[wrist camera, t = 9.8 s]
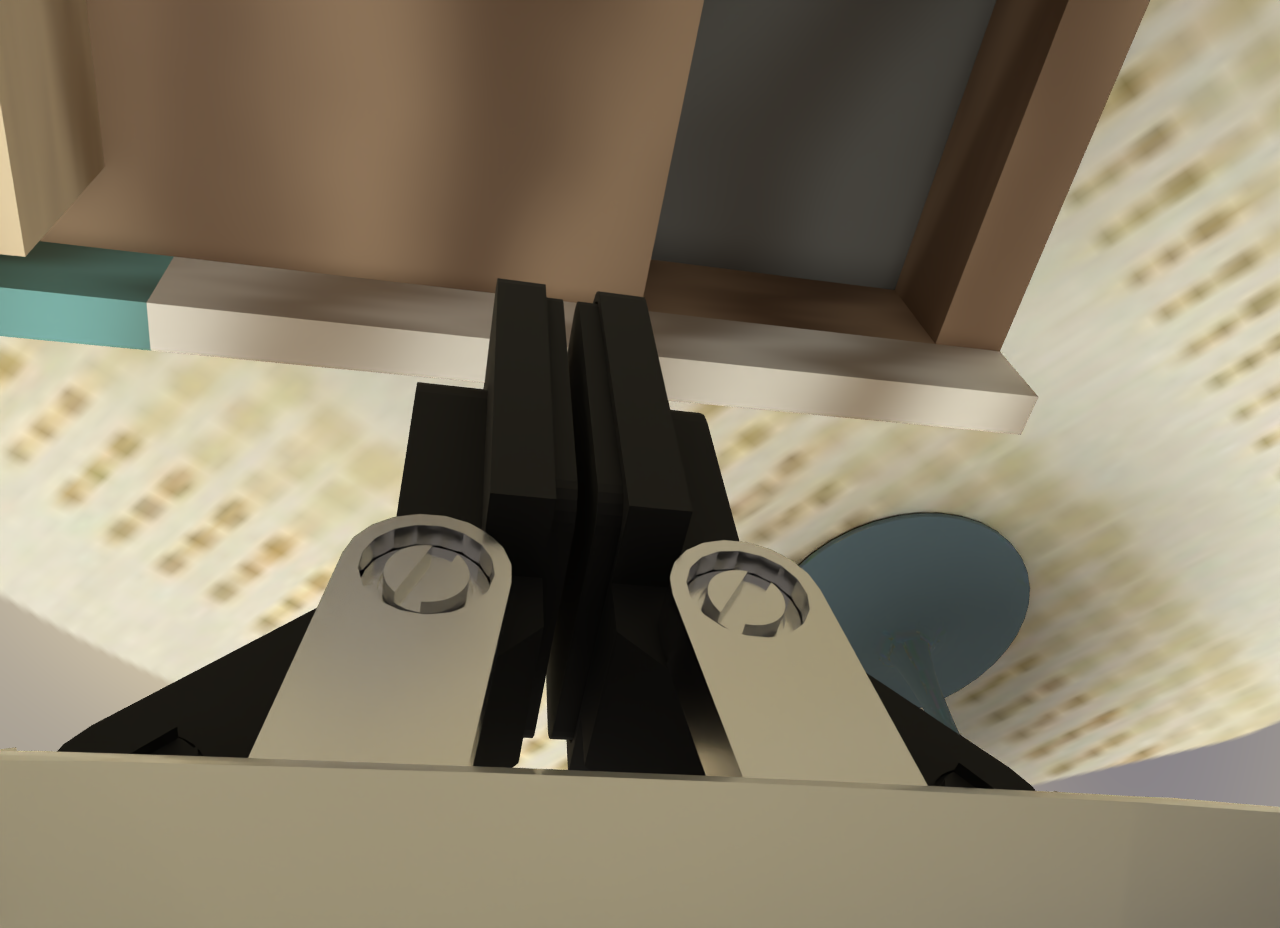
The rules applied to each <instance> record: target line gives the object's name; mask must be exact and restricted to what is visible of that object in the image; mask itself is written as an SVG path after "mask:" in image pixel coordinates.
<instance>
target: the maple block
mask: <svg viewBox="0 0 1280 928" xmlns="http://www.w3.org/2000/svg"><path fill="white" fill-rule="evenodd" d="M103 168H104V158H103V149H102V140H101V131H100V122H99V113H98V104H97V95H96V86H95V77H94V68H93V59H92V50H91V41H90V32H89V23H88V14H87V5H86V0H0V254H3V255H12V256H22V257H26V255H27V254H28V253H29V252H30V251H31V250H32V249H33V248H34V246H35V245H36V244H37V243H38V242H39V241H40V240H41V239H42V237H43V236H44V235H45V234H46V233H47V232H48V231H49V229H50V228H51V227H52V226H53V225H54V224H55V223H56V222H57V220H58V219H59V218H60V217H61V216H62V215H63V214H64V212H65V211H66V210H67V209H68V208H69V207H70V206H71V205H72V203H73V202H74V201H75V200H76V199H77V198H78V197H79V196H80V194H81V193H82V192H83V191H84V190H85V189H86V188H87V186H88V185H89V184H90V183H91V182H92V181H93V180H94V179H95V177H96V176H97V175H98V174H99V173H100V172H101V171H102V170H103Z"/></svg>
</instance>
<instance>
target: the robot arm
mask: <svg viewBox="0 0 1280 928" xmlns="http://www.w3.org/2000/svg"><path fill="white" fill-rule="evenodd" d="M545 678H546V683H547V718H548V735H549V738H550V739H565V740H567V759H568V770H554V769H529V768H512V767H514V766H515V765H516V764H518V762H519V757H520V752H521V746H522V741H523V738H533V737H534V733H535V729H536V724H537V719H538V714H539V708H540V703H541V698H542V693H543V688H544V683H545ZM0 928H1280V807H1272V806H1260V805H1248V804H1236V803H1225V802H1213V801H1201V800H1190V799H1179V798H1158V797H1135V796H1117V795H1101V794H1083V793H1065V792H1057V791H1054V792H1044V791H1035V789H1034V788H1033V787H1032V786H1031V785H1030V784H1029V783H1027V782H1026V781H1025V780H1024V779H1023V778H1021V777H1020V776H1019V775H1018V774H1016V773H1015V772H1014V771H1013V770H1011V769H1010V768H1009V767H1007V766H1006V765H1004V764H1003V763H1001V762H1000V761H998V760H997V759H995V758H994V757H992V756H991V755H989V754H988V753H986V752H985V751H983V750H982V749H980V748H979V747H977V746H976V745H974V744H973V743H971V742H970V741H968V740H967V739H965V738H964V737H962V736H961V735H959V734H958V733H956V732H955V731H953V730H952V729H950V728H949V727H947V726H946V725H944V724H943V723H941V722H940V721H938V720H937V719H935V718H934V717H932V716H931V715H929V714H928V713H926V712H925V711H923V710H922V709H920V708H919V707H917V706H916V705H914V704H913V703H911V702H910V701H908V700H907V699H905V698H904V697H902V696H901V695H899V694H898V693H896V692H895V691H893V690H892V689H890V688H889V687H887V686H886V685H884V684H883V683H881V682H880V681H878V680H877V679H875V678H874V677H872V676H871V675H869V674H868V673H866V672H865V670H864V668H863V667H862V665H861V663H860V661H859V659H858V658H857V656H856V654H855V652H854V650H853V648H852V647H851V645H850V643H849V641H848V639H847V637H846V636H845V634H844V632H843V630H842V628H841V627H840V625H839V623H838V621H837V619H836V617H835V616H834V614H833V612H832V610H831V608H830V606H829V605H828V603H827V601H826V599H825V597H824V596H823V594H822V592H821V590H820V589H819V587H818V586H817V585H816V583H815V582H814V581H813V579H812V578H811V577H810V576H809V574H808V573H807V572H805V571H804V570H803V569H802V568H800V567H799V566H798V565H797V564H795V563H794V562H793V561H792V560H790V559H788V558H786V557H785V556H783V555H781V554H779V553H777V552H775V551H773V550H771V549H768V548H765V547H761V546H758V545H755V544H751V543H748V542H739V538H738V535H737V531H736V527H735V524H734V520H733V516H732V512H731V509H730V505H729V501H728V498H727V494H726V490H725V487H724V483H723V479H722V475H721V472H720V468H719V464H718V461H717V457H716V453H715V450H714V446H713V442H712V438H711V435H710V431H709V427H708V424H707V421H706V419H705V416H704V415H703V414H701V413H694V412H684V411H675V410H670V407H669V402H668V398H667V393H666V388H665V384H664V379H663V375H662V370H661V366H660V361H659V357H658V352H657V348H656V343H655V339H654V334H653V330H652V325H651V321H650V316H649V312H648V307H647V303H646V299H645V297H639V296H631V295H623V294H616V293H608V292H600V291H597V292H596V295H595V298H594V301H593V303H587V302H579V301H577V304H576V307H575V311H574V316H573V322H572V328H571V334H570V340H569V346H568V352H567V340H566V327H565V314H564V302H563V299H555V298H548V297H547V296H546V284H539V283H531V282H523V281H516V280H508V279H500V278H497V283H496V290H495V298H494V307H493V315H492V324H491V332H490V340H489V349H488V357H487V366H486V374H485V382H484V389H475V388H466V387H456V386H447V385H438V384H429V383H420V382H418V383H417V387H416V393H415V400H414V406H413V413H412V419H411V426H410V432H409V439H408V445H407V452H406V458H405V465H404V471H403V478H402V484H401V491H400V497H399V504H398V510H397V517H393V518H390V519H387V520H384V521H381V522H378V523H375V524H372V525H371V526H369V527H368V528H366V529H365V530H363V531H362V532H360V533H359V534H357V535H356V536H354V537H353V539H352V540H351V541H350V543H349V544H348V546H347V547H346V548H345V550H344V551H343V552H342V554H341V557H340V559H339V561H338V563H337V565H336V568H335V570H334V572H333V574H332V576H331V578H330V581H329V583H328V585H327V587H326V589H325V591H324V594H323V596H322V598H321V600H320V602H319V605H318V607H317V608H316V609H314V610H312V611H310V612H308V613H306V614H304V615H302V616H300V617H298V618H296V619H295V620H293V621H291V622H289V623H287V624H285V625H283V626H281V627H279V628H277V629H275V630H273V631H272V632H270V633H268V634H266V635H264V636H262V637H260V638H258V639H256V640H254V641H252V642H250V643H249V644H247V645H245V646H243V647H241V648H239V649H237V650H235V651H233V652H231V653H229V654H228V655H226V656H224V657H222V658H220V659H218V660H216V661H214V662H212V663H210V664H208V665H206V666H205V667H203V668H201V669H199V670H197V671H195V672H193V673H191V674H189V675H187V676H185V677H183V678H182V679H180V680H178V681H176V682H174V683H172V684H170V685H168V686H166V687H164V688H162V689H161V690H159V691H157V692H155V693H153V694H151V695H149V696H147V697H145V698H143V699H141V700H140V701H138V702H136V703H134V704H132V705H130V706H128V707H126V708H124V709H122V710H120V711H118V712H117V713H115V714H113V715H111V716H109V717H107V718H105V719H103V720H101V721H99V722H98V723H96V724H94V725H92V726H90V727H89V728H87V729H86V730H84V731H83V732H81V733H80V734H78V735H77V736H75V737H74V738H72V739H71V740H70V741H68V742H66V743H65V744H63V746H62V747H61V748H60V749H59V750H58V751H57V752H53V751H17V749H16V747H15V748H7V749H0Z"/></svg>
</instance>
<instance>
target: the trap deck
mask: <svg viewBox="0 0 1280 928" xmlns="http://www.w3.org/2000/svg"><path fill="white" fill-rule="evenodd" d="M1149 2H1150V0H86V5H87V14H88V23H89V32H90V41H91V50H92V59H93V68H94V77H95V86H96V95H97V104H98V113H99V122H100V131H101V140H102V149H103V158H104V168H103V170H102V171H101V172H100V173H99V174H98V175H97V176H96V177H95V179H94V180H93V181H92V182H91V183H90V184H89V185H88V186H87V188H86V189H85V190H84V191H83V192H82V193H81V194H80V196H79V197H78V198H77V199H76V200H75V201H74V202H73V203H72V205H71V206H70V207H69V208H68V209H67V210H66V211H65V212H64V214H63V215H62V216H61V217H60V218H59V219H58V220H57V222H56V223H55V224H54V225H53V226H52V227H51V228H50V229H49V231H48V232H47V233H46V234H45V235H44V236H43V237H42V239H41V240H40V241H39V242H38V243H37V244H36V245H35V246H34V248H33V249H32V250H31V251H30V252H29V253H28V254H27V255H26V257H22V256H12V255H3V254H0V336H6V337H17V338H27V339H37V340H48V341H58V342H68V343H79V344H89V345H99V346H110V347H120V348H130V349H141V350H151V351H161V352H172V353H182V354H192V355H203V356H213V357H223V358H234V359H244V360H255V361H265V362H275V363H286V364H296V365H306V366H317V367H327V368H337V369H348V370H358V371H368V372H379V373H389V374H399V375H410V376H420V377H430V378H441V379H451V380H462V381H472V382H482V383H484V382H485V374H486V366H487V357H488V349H489V340H490V332H491V324H492V315H493V307H494V298H495V290H496V283H497V278H500V279H508V280H516V281H523V282H531V283H539V284H546V296H547V297H548V298H555V299H563V302H564V314H565V327H566V340H567V352H568V346H569V340H570V334H571V328H572V322H573V316H574V311H575V307H576V304H577V301H579V302H587V303H593V301H594V298H595V295H596V292H597V291H600V292H608V293H616V294H623V295H631V296H639V297H645V299H646V303H647V307H648V312H649V316H650V321H651V325H652V330H653V334H654V339H655V343H656V348H657V352H658V357H659V361H660V366H661V370H662V375H663V379H664V384H665V388H666V393H667V398H668V401H679V402H689V403H700V404H710V405H720V406H731V407H741V408H751V409H762V410H772V411H782V412H793V413H803V414H813V415H824V416H834V417H844V418H855V419H865V420H875V421H886V422H896V423H906V424H917V425H927V426H938V427H948V428H958V429H969V430H979V431H989V432H1000V433H1010V434H1020V435H1021V433H1022V431H1023V429H1024V427H1025V425H1026V422H1027V420H1028V418H1029V416H1030V414H1031V412H1032V410H1033V407H1034V405H1035V403H1036V401H1037V399H1038V396H1037V395H1036V393H1035V392H1034V391H1033V390H1032V389H1031V388H1030V386H1029V385H1028V384H1027V383H1026V382H1025V381H1024V379H1023V378H1022V377H1021V376H1020V375H1019V373H1018V372H1017V371H1016V370H1015V369H1014V368H1013V366H1012V365H1011V364H1010V363H1009V362H1008V361H1007V359H1006V358H1005V357H1004V356H1003V355H1002V354H1001V352H1000V350H1001V347H1002V345H1003V343H1004V340H1005V338H1006V336H1007V333H1008V331H1009V329H1010V326H1011V324H1012V322H1013V319H1014V317H1015V315H1016V312H1017V310H1018V308H1019V305H1020V303H1021V301H1022V298H1023V296H1024V294H1025V291H1026V289H1027V287H1028V284H1029V282H1030V280H1031V277H1032V275H1033V273H1034V270H1035V268H1036V265H1037V263H1038V261H1039V258H1040V256H1041V254H1042V251H1043V249H1044V247H1045V244H1046V242H1047V240H1048V237H1049V235H1050V233H1051V230H1052V228H1053V226H1054V223H1055V221H1056V219H1057V216H1058V214H1059V212H1060V209H1061V207H1062V205H1063V202H1064V200H1065V198H1066V195H1067V193H1068V191H1069V188H1070V186H1071V184H1072V181H1073V179H1074V177H1075V174H1076V172H1077V170H1078V167H1079V165H1080V163H1081V160H1082V158H1083V156H1084V153H1085V151H1086V149H1087V146H1088V144H1089V142H1090V139H1091V137H1092V135H1093V132H1094V130H1095V128H1096V125H1097V123H1098V121H1099V118H1100V116H1101V114H1102V111H1103V109H1104V107H1105V104H1106V102H1107V100H1108V97H1109V95H1110V93H1111V90H1112V88H1113V86H1114V83H1115V81H1116V79H1117V76H1118V74H1119V72H1120V69H1121V67H1122V65H1123V62H1124V60H1125V58H1126V55H1127V53H1128V51H1129V48H1130V46H1131V44H1132V41H1133V39H1134V37H1135V34H1136V32H1137V30H1138V27H1139V25H1140V23H1141V20H1142V18H1143V16H1144V13H1145V11H1146V9H1147V6H1148V4H1149Z"/></svg>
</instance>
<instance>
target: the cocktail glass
mask: <svg viewBox="0 0 1280 928" xmlns="http://www.w3.org/2000/svg"><path fill="white" fill-rule="evenodd" d="M799 567H800V568H802V569H803V570H804V571H805V572H807V573H808V574H809V576H810V577H811V578H812V579H813V581H814V582H815V583H816V585H817V586H818V587H819V589H820V590H821V592H822V594H823V596H824V597H825V599H826V601H827V603H828V605H829V606H830V608H831V610H832V612H833V614H834V616H835V617H836V619H837V621H838V623H839V625H840V627H841V628H842V630H843V632H844V634H845V636H846V637H847V639H848V641H849V643H850V645H851V647H852V648H853V650H854V652H855V654H856V656H857V658H858V659H859V661H860V663H861V665H862V667H863V668H864V670H865V672H866V673H868V674H869V675H871V676H872V677H874V678H875V679H877V680H878V681H880V682H881V683H883V684H884V685H886V686H887V687H889V688H890V689H892V690H893V691H895V692H896V693H898V694H899V695H901V696H902V697H904V698H905V699H907V700H908V701H910V702H911V703H913V704H914V705H916V706H917V707H919V708H921V707H922V708H923V709H924V711H925V712H926V713H928V714H929V715H931V716H932V717H934V718H935V719H937V720H938V721H940V722H941V723H943V724H944V725H946V726H947V727H949V728H950V729H952V730H953V731H955V732H956V733H958V734H959V732H958V730H957V728H956V725H955V723H954V721H953V718H952V716H951V714H950V711H949V709H948V707H947V704H946V702H945V699H944V698H945V697H947V696H949V695H951V694H953V693H955V692H957V691H959V690H960V689H962V688H963V687H965V686H966V685H968V684H969V683H971V682H972V681H974V680H975V679H977V678H978V677H979V676H980V675H982V674H983V673H984V672H985V671H986V670H987V669H989V668H990V667H991V666H992V665H993V664H994V663H995V662H996V661H997V660H998V659H999V658H1000V657H1001V655H1002V654H1003V653H1004V652H1005V651H1006V650H1007V649H1008V647H1009V646H1010V644H1011V643H1012V641H1013V640H1014V638H1015V637H1016V635H1017V634H1018V632H1019V629H1020V627H1021V625H1022V623H1023V621H1024V619H1025V615H1026V611H1027V608H1028V604H1029V592H1030V586H1029V580H1028V573H1027V570H1026V567H1025V565H1024V563H1023V560H1022V558H1021V556H1020V555H1019V554H1018V552H1017V551H1016V550H1015V548H1014V547H1013V546H1012V544H1011V543H1010V542H1009V541H1008V540H1006V539H1005V538H1004V537H1003V536H1002V535H1000V534H999V533H998V532H997V531H995V530H993V529H991V528H990V527H988V526H986V525H984V524H982V523H980V522H977V521H974V520H971V519H968V518H964V517H961V516H954V515H948V514H939V513H918V514H910V515H902V516H895V517H891V518H887V519H883V520H879V521H875V522H872V523H870V524H867V525H864V526H862V527H859V528H856V529H854V530H851V531H849V532H847V533H845V534H843V535H842V536H840V537H838V538H836V539H834V540H832V541H830V542H829V543H827V544H826V545H824V546H823V547H821V548H820V549H818V550H817V551H816V552H814V553H813V554H811V555H810V556H809V557H808V558H807V559H806V560H805V561H803V562H802V563H801V564H800V565H799ZM959 735H960V734H959Z"/></svg>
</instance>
